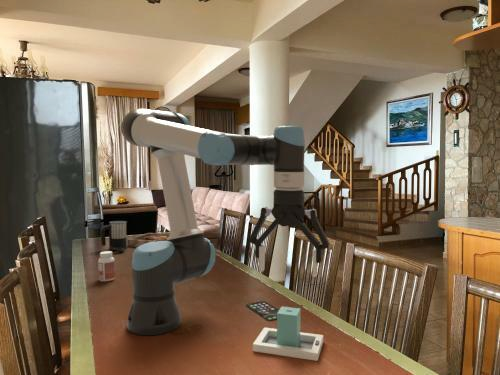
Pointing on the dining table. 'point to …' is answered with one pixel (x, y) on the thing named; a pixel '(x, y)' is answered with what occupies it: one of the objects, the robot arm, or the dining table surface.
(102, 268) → the pill bottle
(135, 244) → the book tray
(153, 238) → the decorative book
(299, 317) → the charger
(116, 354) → the dining table surface
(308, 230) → the robot arm
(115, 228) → the milk frother
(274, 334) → the white shallow tray
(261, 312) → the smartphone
